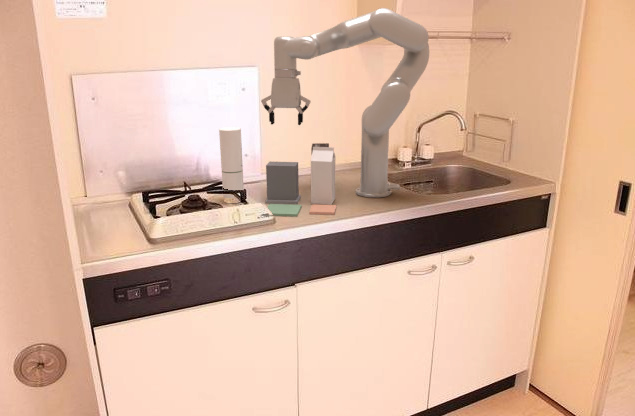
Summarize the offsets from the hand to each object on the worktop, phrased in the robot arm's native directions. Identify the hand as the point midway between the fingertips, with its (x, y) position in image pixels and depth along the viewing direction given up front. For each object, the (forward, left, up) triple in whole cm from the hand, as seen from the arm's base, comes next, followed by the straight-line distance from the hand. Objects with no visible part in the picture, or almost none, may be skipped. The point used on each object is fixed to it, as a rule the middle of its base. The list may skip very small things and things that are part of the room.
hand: (286, 124), depth 188 cm
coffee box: (-11, -7, -25) cm, 28 cm away
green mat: (-2, +23, -25) cm, 34 cm away
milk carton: (-14, +11, -25) cm, 31 cm away
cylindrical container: (+17, +13, -25) cm, 33 cm away
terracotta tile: (-15, +21, -25) cm, 36 cm away
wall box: (0, +11, -25) cm, 27 cm away
